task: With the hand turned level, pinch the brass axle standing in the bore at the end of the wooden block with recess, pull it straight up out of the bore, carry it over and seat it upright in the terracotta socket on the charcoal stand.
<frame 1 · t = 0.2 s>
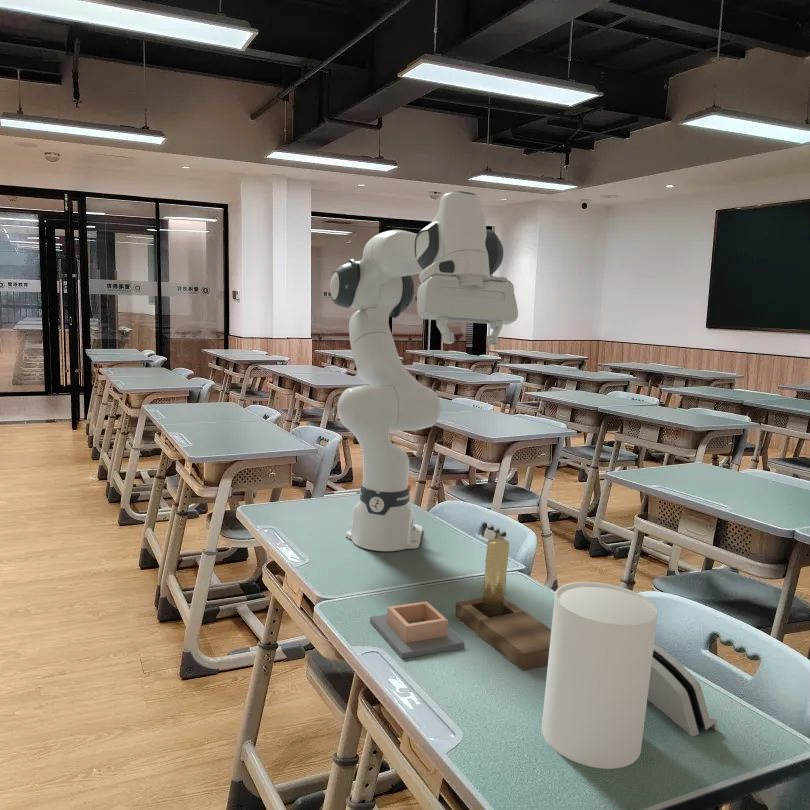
hand: (471, 344, 129), 52 cm above the table, tool tilted 20°, fingers open, 8 cm apart
axle: (494, 583, 128), in the wooden block with recess
canister: (590, 737, 97), on the table
white slotted casing: (659, 705, 106), on the table
wooden block with recess: (491, 623, 129), on the table
stand: (415, 634, 123), on the table
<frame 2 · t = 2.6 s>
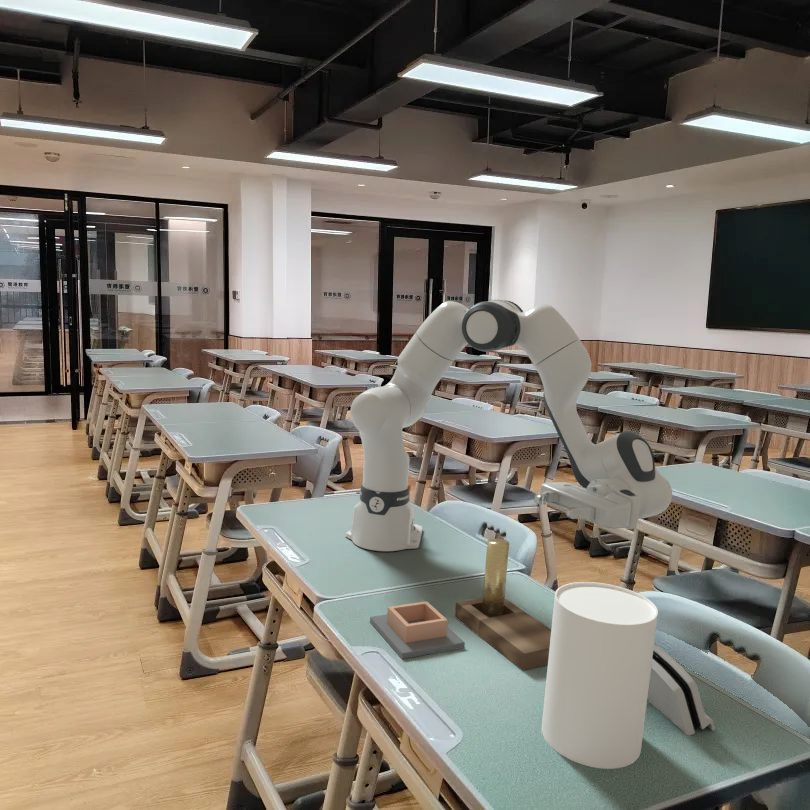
hand: (552, 506, 132), 22 cm above the table, tool horizontal, fingers open, 8 cm apart
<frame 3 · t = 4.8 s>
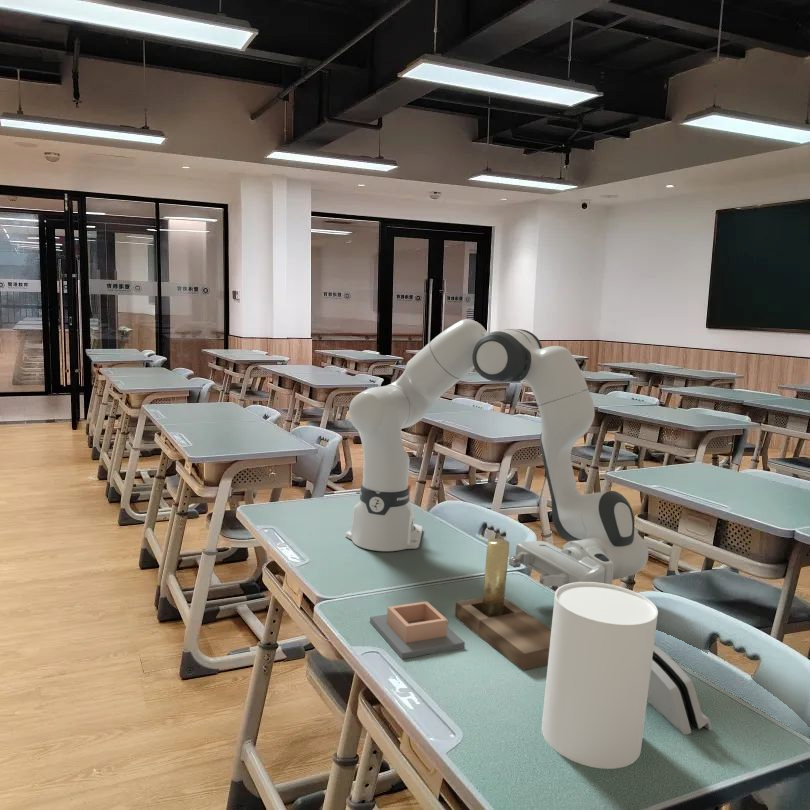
hand: (526, 571, 132), 9 cm above the table, tool horizontal, fingers open, 8 cm apart
nothing on the table moved.
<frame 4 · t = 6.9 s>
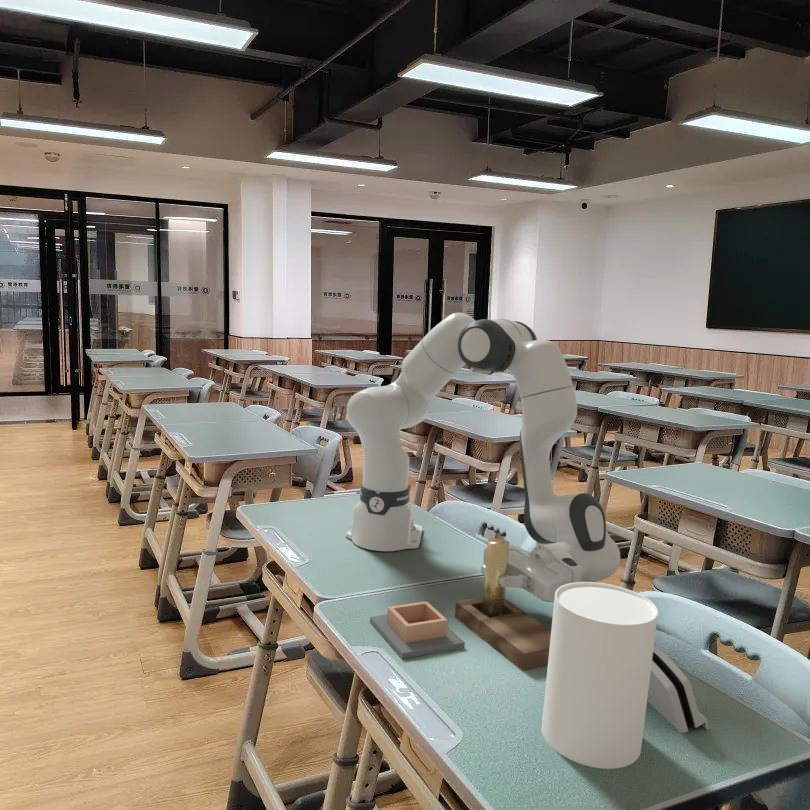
hand: (491, 576, 128), 10 cm above the table, tool horizontal, fingers closed on axle, 4 cm apart
axle: (494, 583, 128), in the wooden block with recess, touching gripper
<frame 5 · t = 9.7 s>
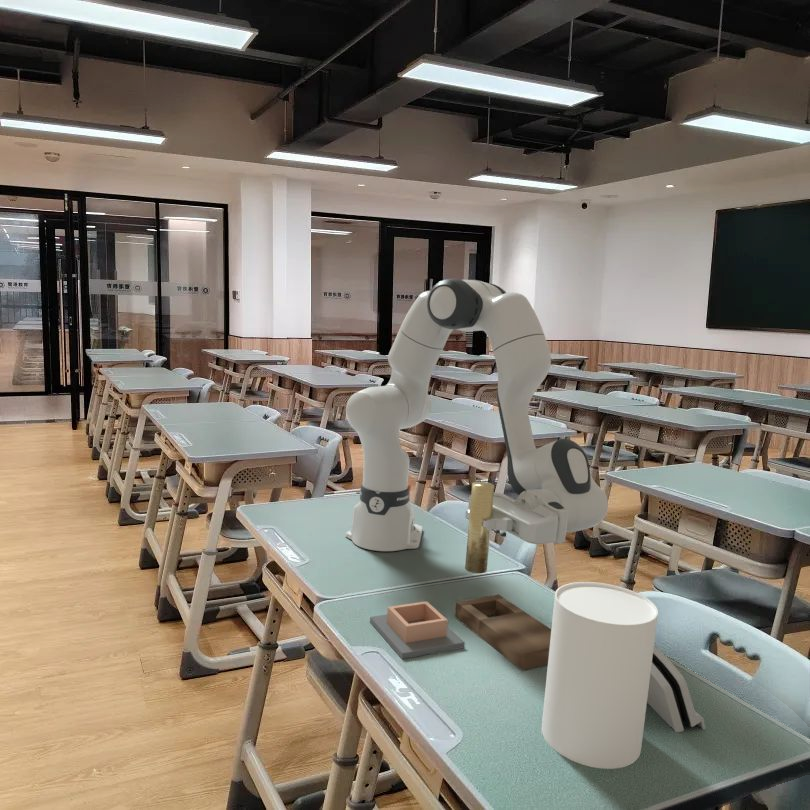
hand: (476, 519, 124), 21 cm above the table, tool horizontal, fingers closed on axle, 4 cm apart
axle: (479, 527, 125), point 19 cm above the table, touching gripper
when the fingers open (12 cm above the table, at t = 12.6 s): axle drops 1 cm, resting on stand.
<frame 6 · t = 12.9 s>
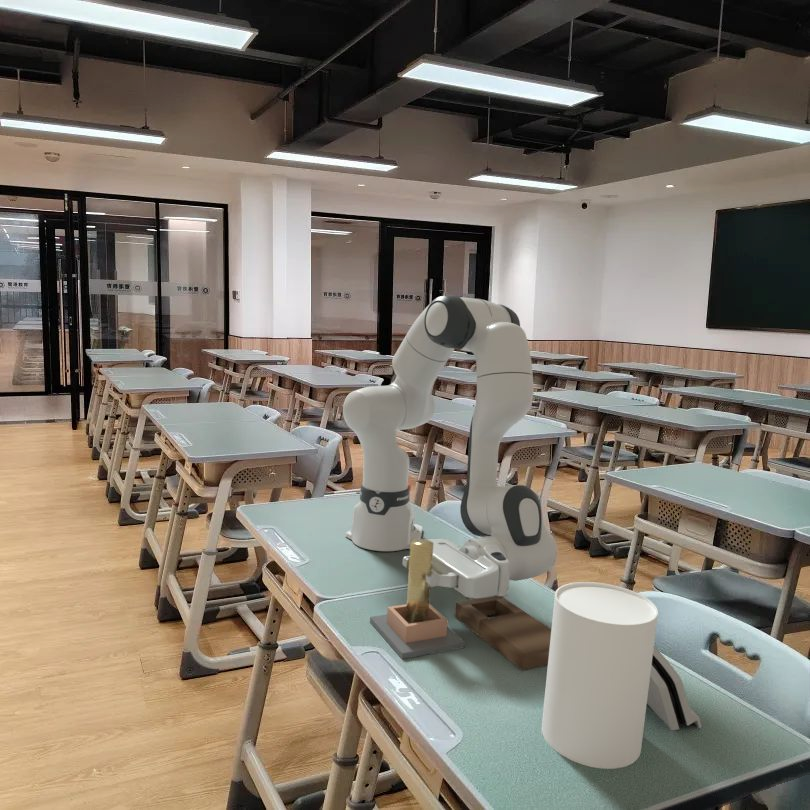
hand: (415, 571, 121), 12 cm above the table, tool horizontal, fingers open, 7 cm apart
axle: (419, 586, 122), in the stand, point 9 cm above the table
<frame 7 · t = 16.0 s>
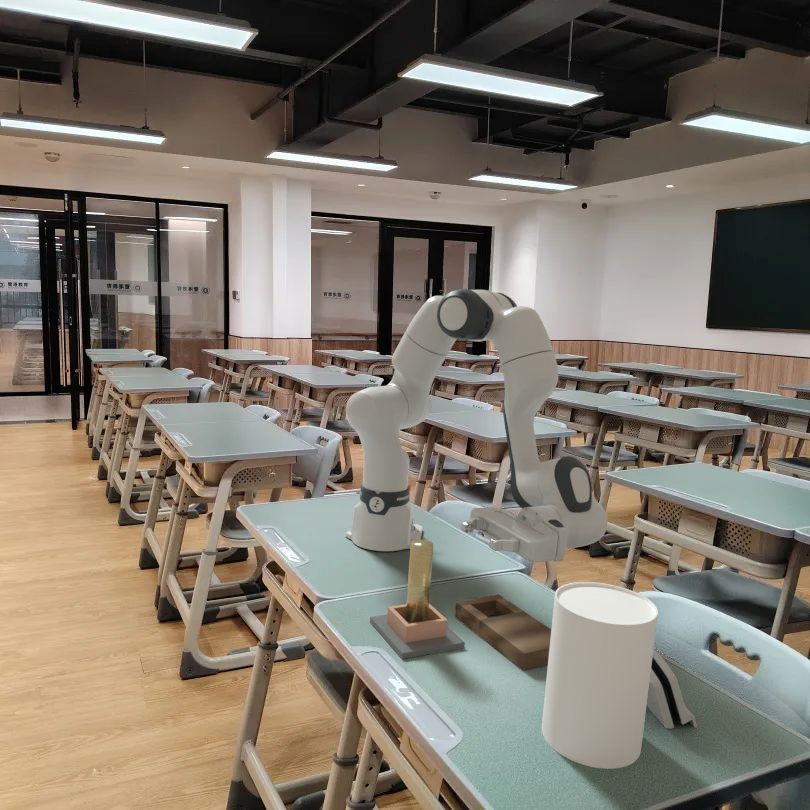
hand: (476, 535, 127), 17 cm above the table, tool horizontal, fingers open, 8 cm apart
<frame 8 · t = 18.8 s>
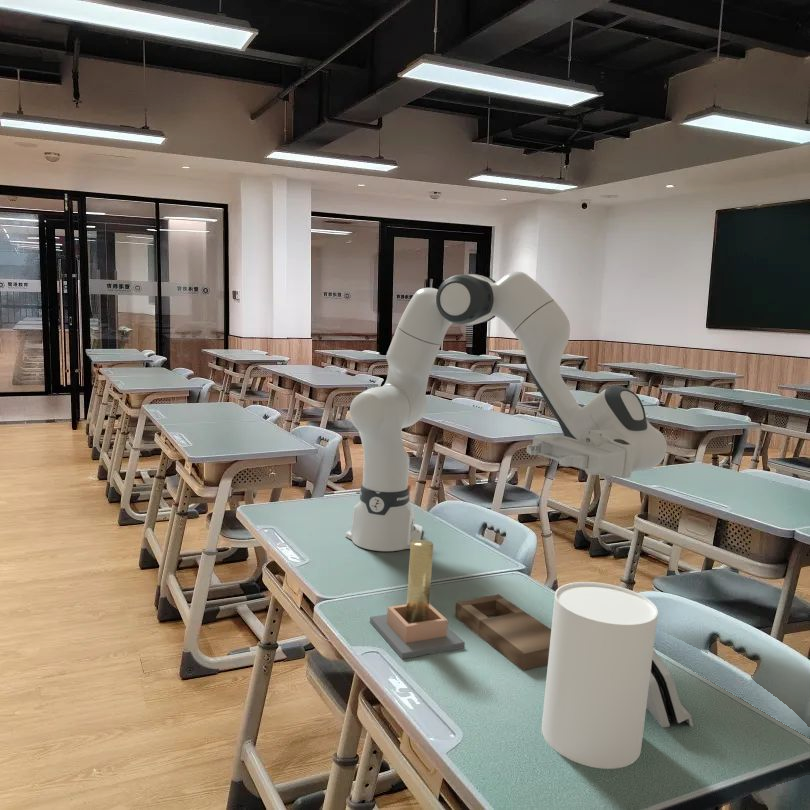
hand: (544, 455, 129), 32 cm above the table, tool horizontal, fingers open, 8 cm apart
at the end: axle 0.0 cm off-centre on the stand, point 9.0 cm above the stand's base; axle tilted 0°; the gripper is holding nothing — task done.
